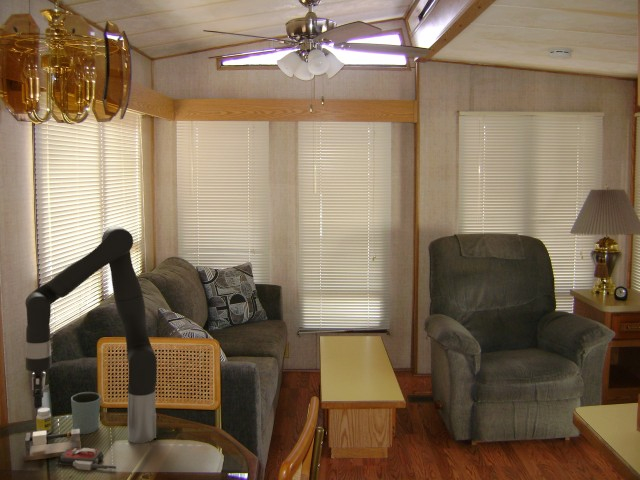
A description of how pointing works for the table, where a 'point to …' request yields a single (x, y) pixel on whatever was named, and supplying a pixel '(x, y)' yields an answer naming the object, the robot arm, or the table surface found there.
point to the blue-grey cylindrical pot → (85, 411)
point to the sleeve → (39, 438)
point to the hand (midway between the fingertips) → (39, 402)
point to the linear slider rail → (51, 446)
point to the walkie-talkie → (83, 459)
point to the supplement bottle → (44, 420)
